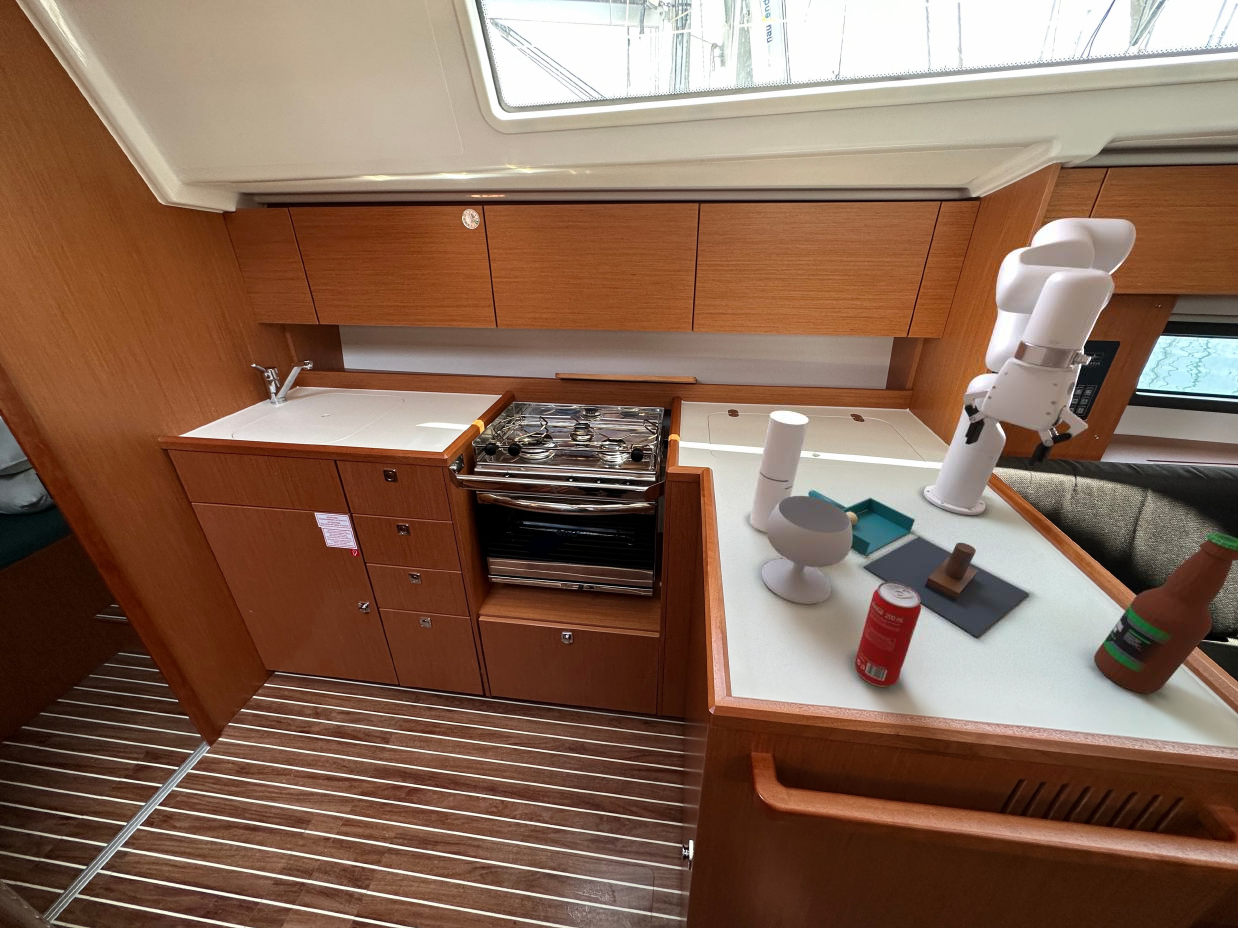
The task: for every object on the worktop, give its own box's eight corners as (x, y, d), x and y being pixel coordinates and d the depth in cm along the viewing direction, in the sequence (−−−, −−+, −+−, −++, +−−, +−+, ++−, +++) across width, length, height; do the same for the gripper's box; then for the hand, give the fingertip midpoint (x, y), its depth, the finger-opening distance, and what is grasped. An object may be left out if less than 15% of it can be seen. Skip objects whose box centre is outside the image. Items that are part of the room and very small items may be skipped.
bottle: (1095, 646, 75) (1187, 516, 64) (1159, 677, 70) (1272, 542, 59) (1087, 671, 71) (1185, 536, 59) (1156, 705, 66) (1276, 565, 55)
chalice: (741, 565, 90) (754, 499, 83) (799, 551, 95) (816, 487, 88) (789, 617, 78) (809, 544, 72) (853, 598, 83) (877, 528, 76)
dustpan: (910, 532, 102) (915, 519, 101) (864, 556, 94) (869, 542, 93) (829, 490, 117) (832, 478, 116) (784, 507, 109) (787, 495, 108)
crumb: (849, 527, 104) (847, 514, 105) (861, 525, 102) (859, 511, 103) (840, 525, 103) (838, 512, 104) (852, 523, 100) (850, 509, 102)
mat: (918, 537, 101) (918, 536, 100) (1028, 594, 86) (1029, 593, 86) (863, 567, 91) (863, 566, 91) (976, 637, 76) (977, 636, 76)
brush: (944, 565, 92) (960, 531, 88) (973, 579, 88) (991, 544, 85) (924, 586, 86) (939, 550, 82) (954, 602, 83) (972, 565, 79)
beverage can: (902, 692, 66) (938, 614, 60) (853, 683, 67) (883, 605, 61) (889, 659, 72) (921, 583, 65) (844, 651, 73) (871, 575, 66)
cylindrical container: (745, 514, 106) (765, 410, 95) (775, 513, 107) (799, 410, 95) (756, 533, 100) (778, 424, 88) (788, 532, 100) (815, 424, 89)
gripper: (1125, 367, 70) (1070, 468, 77) (994, 342, 82) (958, 431, 90) (1108, 373, 66) (1052, 479, 74) (974, 346, 79) (938, 439, 87)
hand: (1000, 453), depth 82 cm, fingers open, 9 cm apart
